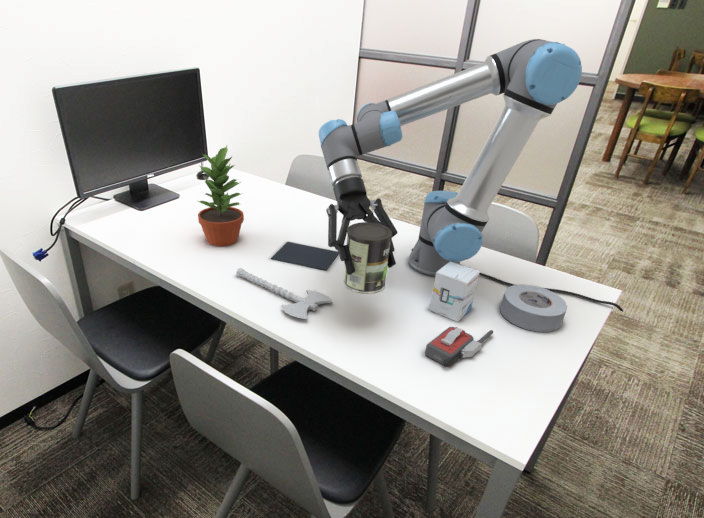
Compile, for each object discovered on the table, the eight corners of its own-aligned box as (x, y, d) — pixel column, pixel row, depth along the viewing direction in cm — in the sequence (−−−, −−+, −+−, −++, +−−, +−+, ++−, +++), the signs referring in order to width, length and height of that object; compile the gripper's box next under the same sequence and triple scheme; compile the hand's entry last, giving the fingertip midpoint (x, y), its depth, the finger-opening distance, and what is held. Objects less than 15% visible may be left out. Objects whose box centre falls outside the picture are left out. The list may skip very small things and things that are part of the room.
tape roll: (570, 316, 131) (577, 300, 128) (546, 339, 122) (552, 322, 119) (515, 293, 140) (520, 278, 137) (488, 313, 131) (493, 297, 128)
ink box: (442, 297, 137) (450, 260, 131) (471, 309, 132) (481, 270, 126) (427, 310, 131) (435, 271, 125) (457, 322, 127) (467, 283, 120)
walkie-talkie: (453, 374, 109) (495, 337, 122) (457, 359, 107) (499, 322, 119) (419, 356, 114) (462, 322, 127) (422, 341, 112) (466, 308, 124)
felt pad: (339, 253, 158) (339, 252, 158) (326, 270, 148) (326, 269, 147) (287, 242, 163) (287, 241, 163) (271, 259, 153) (271, 257, 153)
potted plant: (191, 246, 158) (182, 152, 142) (210, 228, 171) (204, 139, 155) (235, 253, 155) (231, 157, 140) (251, 234, 168) (249, 144, 152)
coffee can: (386, 276, 125) (393, 224, 117) (383, 297, 116) (391, 242, 109) (345, 271, 126) (350, 219, 119) (340, 291, 118) (344, 237, 110)
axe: (221, 284, 139) (220, 276, 138) (255, 267, 148) (255, 259, 147) (303, 325, 123) (303, 317, 122) (336, 303, 132) (337, 296, 131)
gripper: (381, 185, 127) (406, 267, 123) (299, 194, 120) (322, 281, 116) (395, 171, 120) (421, 257, 116) (308, 180, 113) (333, 272, 109)
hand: (372, 269), depth 116 cm, fingers closed on coffee can, 10 cm apart
